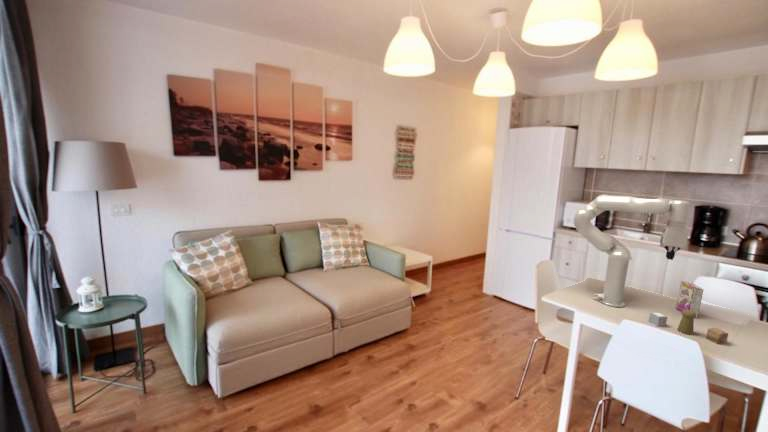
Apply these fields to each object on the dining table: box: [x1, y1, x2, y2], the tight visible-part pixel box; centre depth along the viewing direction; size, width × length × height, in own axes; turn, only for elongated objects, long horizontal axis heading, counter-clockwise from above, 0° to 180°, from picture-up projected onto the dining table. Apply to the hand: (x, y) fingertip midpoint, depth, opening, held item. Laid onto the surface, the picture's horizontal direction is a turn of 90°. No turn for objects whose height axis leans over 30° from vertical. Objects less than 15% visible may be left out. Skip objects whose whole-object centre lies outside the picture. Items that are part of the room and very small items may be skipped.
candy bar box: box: [675, 280, 704, 319], centre depth 192 cm, size 11×5×16 cm, turn 168°
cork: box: [676, 310, 696, 336], centre depth 171 cm, size 6×6×11 cm
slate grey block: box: [647, 311, 668, 327], centre depth 179 cm, size 5×5×5 cm
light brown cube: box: [705, 327, 729, 345], centre depth 164 cm, size 5×5×5 cm
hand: (669, 258), depth 185 cm, fingers closed
